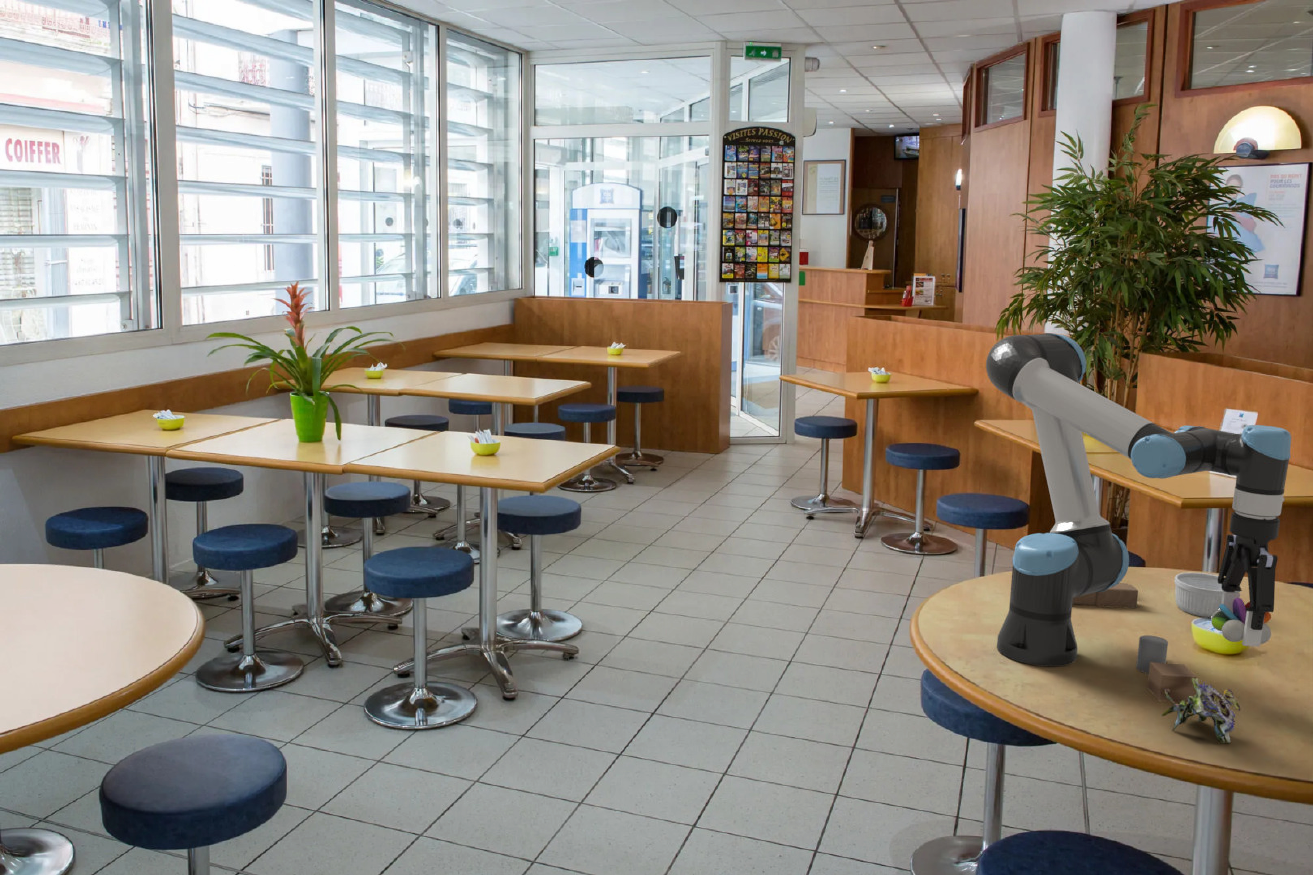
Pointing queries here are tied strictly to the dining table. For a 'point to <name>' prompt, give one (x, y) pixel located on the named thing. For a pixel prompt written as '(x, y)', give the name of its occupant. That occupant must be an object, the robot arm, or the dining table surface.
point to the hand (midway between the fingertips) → (1238, 635)
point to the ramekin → (1198, 593)
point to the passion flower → (1207, 709)
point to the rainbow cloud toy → (1237, 621)
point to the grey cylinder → (1151, 652)
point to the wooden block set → (1111, 597)
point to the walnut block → (1170, 681)
